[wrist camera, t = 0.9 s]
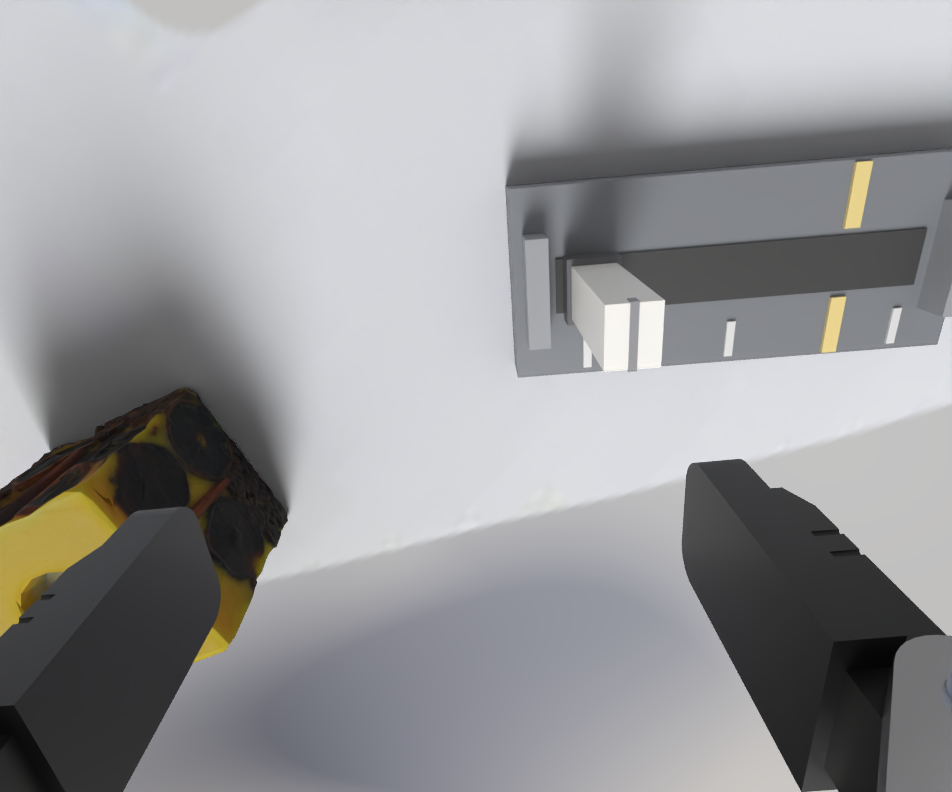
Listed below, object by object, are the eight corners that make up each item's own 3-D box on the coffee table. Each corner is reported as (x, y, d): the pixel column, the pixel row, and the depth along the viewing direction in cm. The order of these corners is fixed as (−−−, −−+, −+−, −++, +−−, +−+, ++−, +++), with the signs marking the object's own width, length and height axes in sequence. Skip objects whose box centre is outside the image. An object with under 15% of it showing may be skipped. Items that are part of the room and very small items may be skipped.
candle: (47, 450, 32) (-121, 571, 23) (190, 378, 30) (71, 478, 21) (162, 573, 36) (58, 720, 27) (295, 516, 34) (232, 651, 25)
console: (505, 186, 26) (510, 192, 23) (954, 147, 26) (1025, 148, 23) (515, 363, 30) (520, 390, 27) (908, 332, 30) (963, 355, 26)
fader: (563, 255, 25) (599, 296, 18) (616, 251, 25) (672, 290, 18) (564, 319, 26) (598, 380, 20) (614, 315, 26) (666, 375, 20)
